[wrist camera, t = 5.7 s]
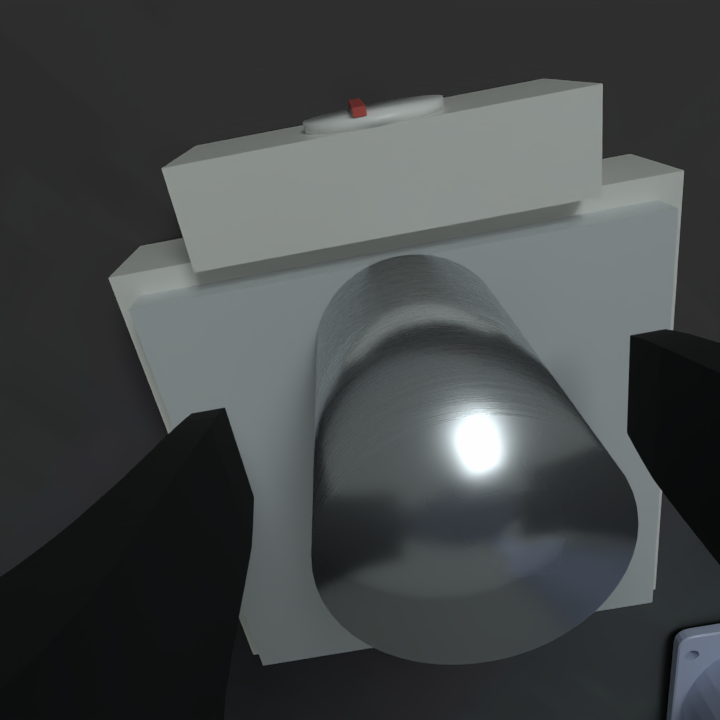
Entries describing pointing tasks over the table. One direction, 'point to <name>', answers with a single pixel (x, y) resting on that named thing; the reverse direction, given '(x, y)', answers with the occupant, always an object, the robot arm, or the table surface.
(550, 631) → the cylinder
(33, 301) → the table surface
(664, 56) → the table surface
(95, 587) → the robot arm
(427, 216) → the grey flat ridged box
